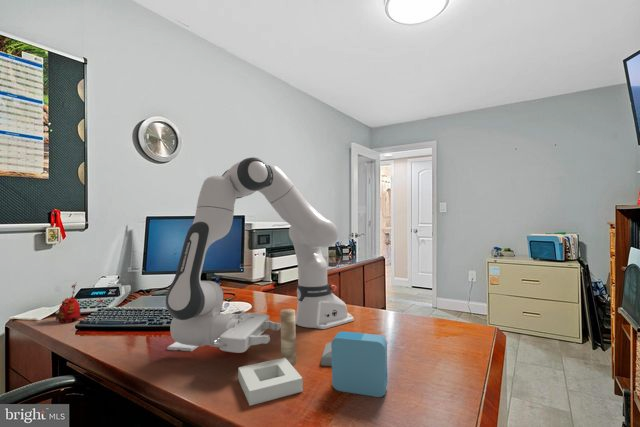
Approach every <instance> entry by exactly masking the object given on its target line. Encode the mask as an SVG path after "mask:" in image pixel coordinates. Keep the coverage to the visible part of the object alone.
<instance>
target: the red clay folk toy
mask: <svg viewBox="0 0 640 427" xmlns="http://www.w3.org/2000/svg"><path fill="white" fill-rule="evenodd" d="M76 286H78V285H77V281H76V282H75V284H72V285H71V288H72V289H73V290H72V291H71V292H72V296H70V297H69V298H68V297H67V298H65V299H64V300H62V302H61V304H60V306H59V309H58V312H57V319H58V320H57V321H58V323H62V324H69V323H72V322H77V321H78V320H79V319H80V318H81V306H80V302H78V300H77V299H76V298H75V297H74V294H75V288H76Z"/></svg>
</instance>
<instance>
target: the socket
mask: <svg viewBox="0 0 640 427" xmlns="http://www.w3.org/2000/svg"><path fill="white" fill-rule="evenodd" d="M237 371H238V372H237V373H238V379H237V380H238V382H239V384H240V387H241V389H242V391H243V394H244V395H245V398H246V400H247V403H248V405H249V406H253V405H258V404H262V403H266V402H268V401H269V402H270V401H273V400H276V399H280V398H283V397H287V396H291V395H294V394H298V393H303V391H304V388H303V387H304V381H303V379H304V378H303V376H301V375H300V373H299V372H298V371H297V369H295V367H294V365H291V364H290V363H289V361H288V360H287V359H286V358H281V357H280V358H277V359H271V360H267V361H266V360H265V361H263V362H258V363H252V364H247V365H243V366H239V367H238V370H237Z"/></svg>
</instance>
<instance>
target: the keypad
mask: <svg viewBox="0 0 640 427" xmlns="http://www.w3.org/2000/svg"><path fill="white" fill-rule="evenodd" d="M331 343H332V341H328V342H326V343H325V346H324V348H323V352H322V354H321V358H320V360H321V362H320V365H321V366H327V367H328V366H329V367H332V350H331Z"/></svg>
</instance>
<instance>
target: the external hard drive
mask: <svg viewBox="0 0 640 427" xmlns="http://www.w3.org/2000/svg"><path fill="white" fill-rule="evenodd" d="M197 348H199V346H192V345H185V344H181V343H178V342H176V341H174V342H173V343H172V344H170V345H169V346H167V348H166V349H167V350H168V351H181V352H182V351H183V352H193V351H194V350H195V349H197Z"/></svg>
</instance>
